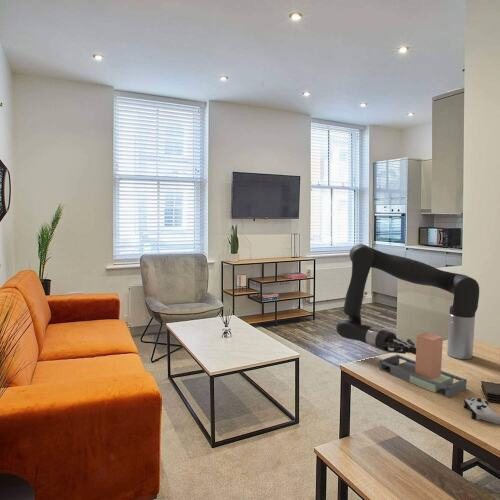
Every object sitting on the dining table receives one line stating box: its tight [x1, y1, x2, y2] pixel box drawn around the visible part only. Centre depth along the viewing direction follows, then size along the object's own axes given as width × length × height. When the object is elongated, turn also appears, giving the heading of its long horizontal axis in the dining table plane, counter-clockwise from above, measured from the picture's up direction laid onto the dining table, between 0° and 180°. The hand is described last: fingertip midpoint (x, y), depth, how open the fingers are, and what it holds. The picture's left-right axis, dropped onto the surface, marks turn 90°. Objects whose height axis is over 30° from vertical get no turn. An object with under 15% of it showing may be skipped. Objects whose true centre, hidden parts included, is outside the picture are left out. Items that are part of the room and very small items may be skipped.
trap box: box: [378, 354, 468, 399], centre depth 142 cm, size 11×27×3 cm, turn 34°
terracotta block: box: [415, 332, 444, 380], centre depth 139 cm, size 6×6×14 cm
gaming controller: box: [463, 397, 500, 425], centre depth 118 cm, size 11×6×7 cm
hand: (420, 352), depth 141 cm, fingers closed
